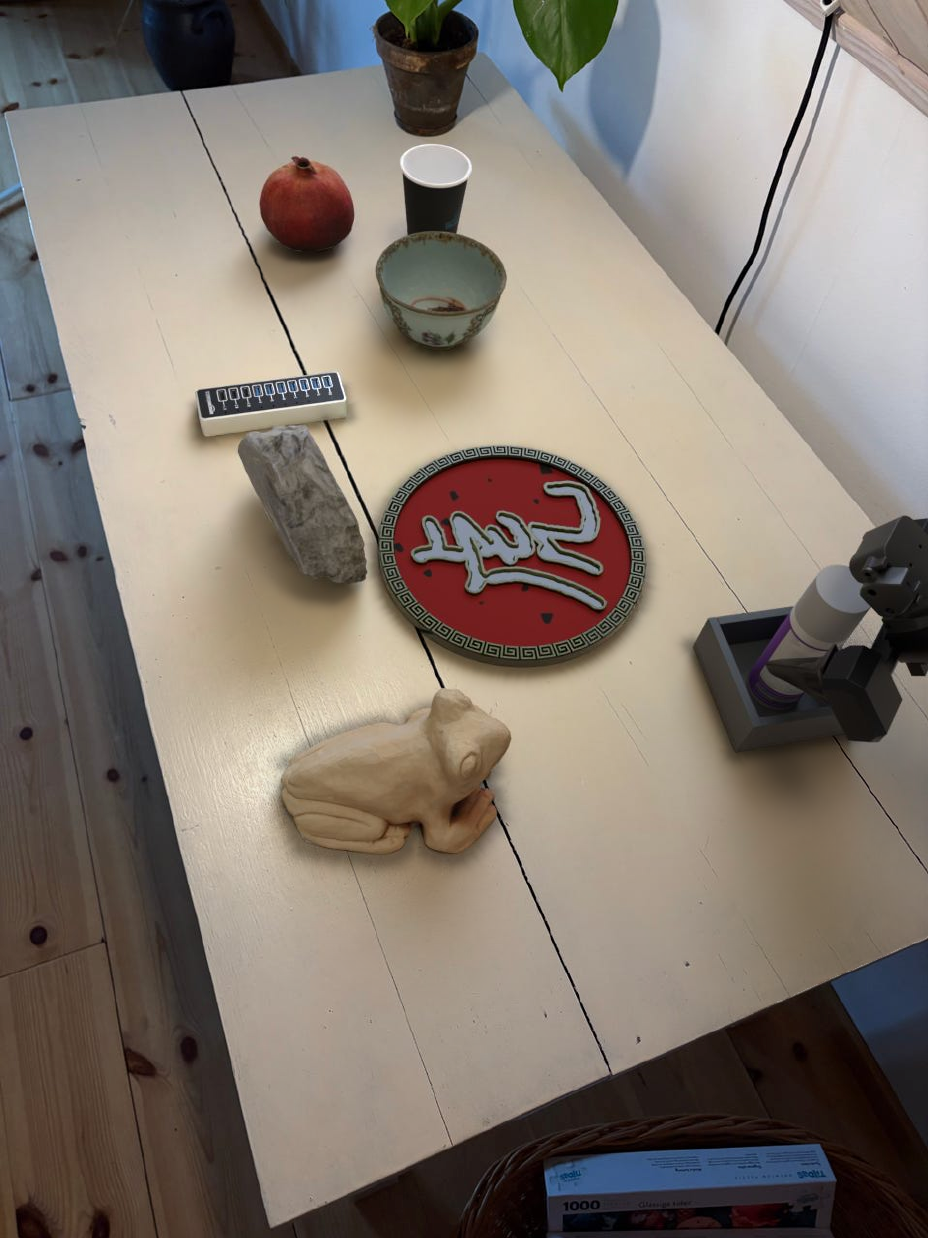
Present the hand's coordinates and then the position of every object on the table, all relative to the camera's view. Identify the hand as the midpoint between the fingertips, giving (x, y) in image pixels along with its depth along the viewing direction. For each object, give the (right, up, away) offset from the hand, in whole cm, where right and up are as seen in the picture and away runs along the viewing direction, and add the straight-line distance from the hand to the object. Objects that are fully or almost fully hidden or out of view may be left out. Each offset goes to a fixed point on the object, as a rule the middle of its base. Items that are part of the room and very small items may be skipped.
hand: (790, 627), depth 76 cm
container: (+1, -5, +6) cm, 8 cm away
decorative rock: (-41, +8, +11) cm, 43 cm away
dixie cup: (-30, +44, +36) cm, 65 cm away
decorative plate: (-22, +7, +13) cm, 26 cm away
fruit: (-45, +45, +35) cm, 73 cm away
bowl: (-29, +32, +29) cm, 52 cm away
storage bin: (0, -5, +7) cm, 9 cm away
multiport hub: (-46, +22, +20) cm, 54 cm away
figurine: (-32, -12, -1) cm, 34 cm away
